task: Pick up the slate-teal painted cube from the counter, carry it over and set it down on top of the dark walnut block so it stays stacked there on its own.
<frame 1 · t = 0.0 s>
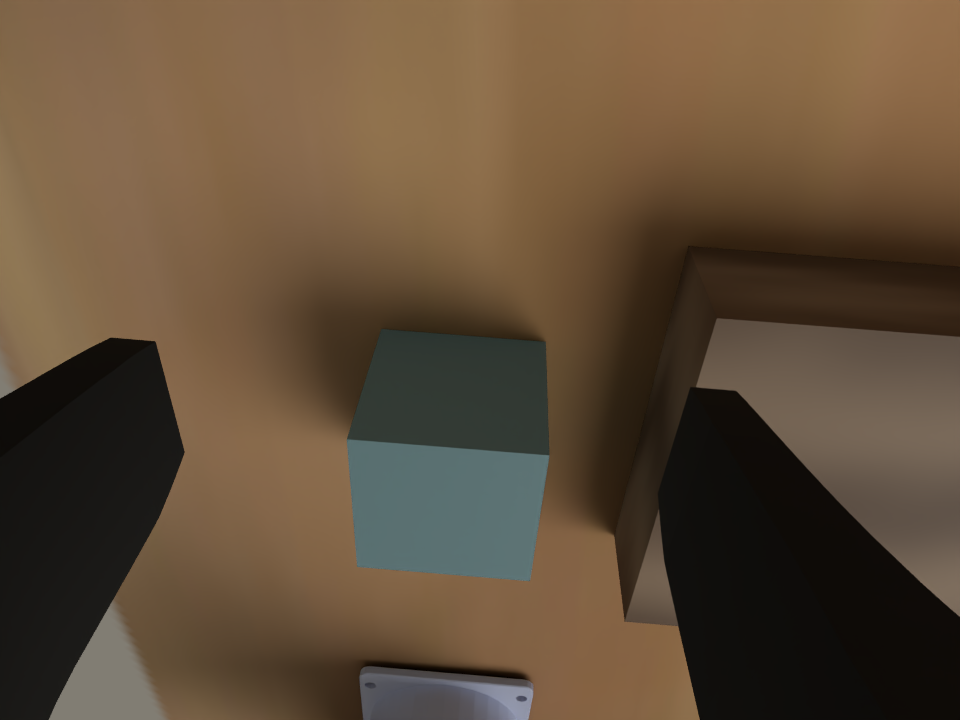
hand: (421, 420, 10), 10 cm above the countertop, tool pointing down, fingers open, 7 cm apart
walnut block: (828, 420, 23), on the countertop
teal cube: (460, 397, 23), on the countertop
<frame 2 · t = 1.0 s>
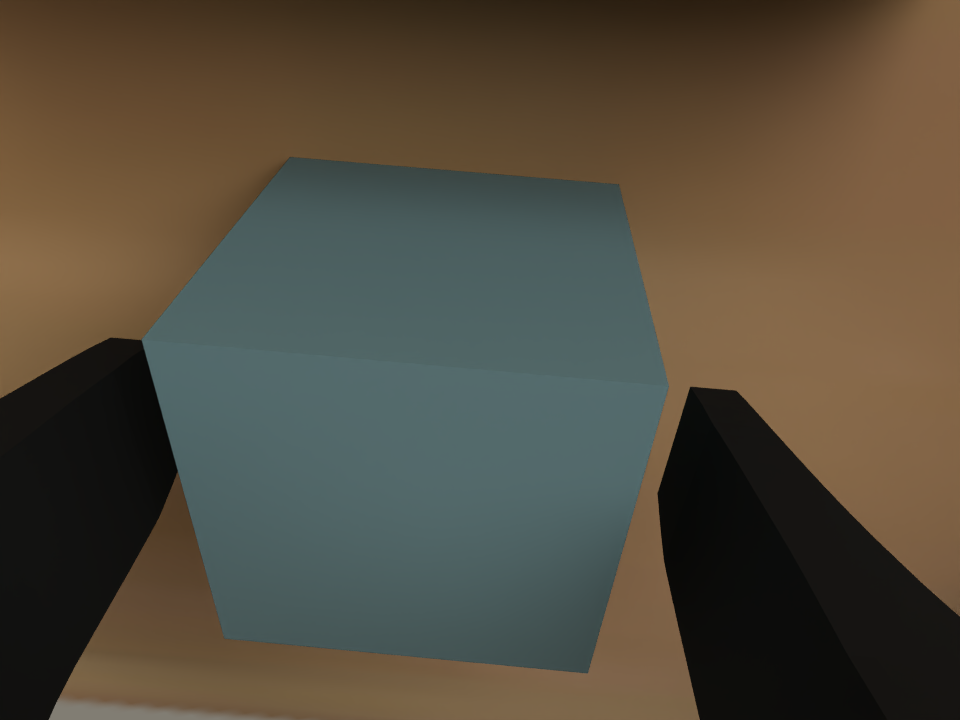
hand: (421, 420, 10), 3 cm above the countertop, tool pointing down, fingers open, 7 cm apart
teal cube: (448, 308, 12), on the countertop
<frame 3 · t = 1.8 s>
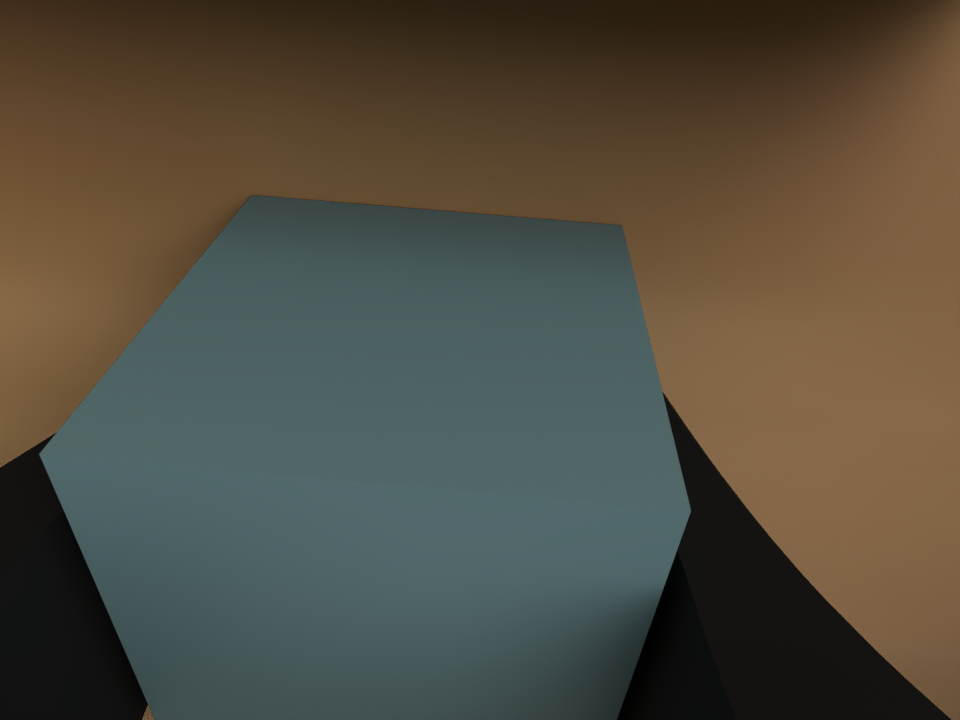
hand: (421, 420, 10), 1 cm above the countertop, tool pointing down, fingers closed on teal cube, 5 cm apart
teal cube: (432, 360, 11), on the countertop, touching gripper
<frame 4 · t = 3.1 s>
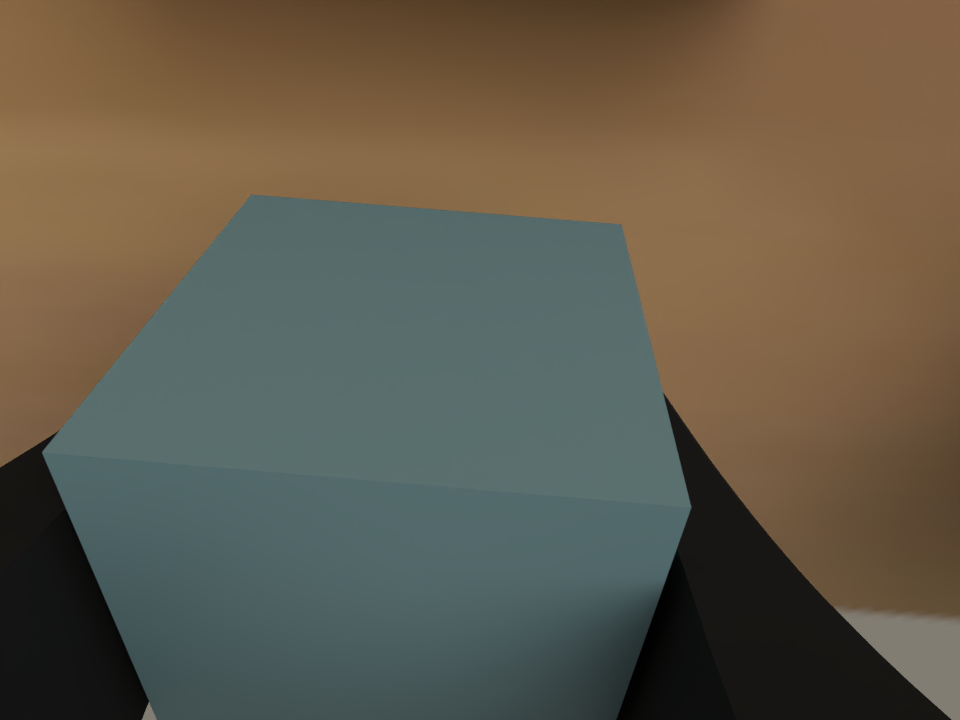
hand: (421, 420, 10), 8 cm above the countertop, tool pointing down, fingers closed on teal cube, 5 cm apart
teal cube: (432, 359, 11), point 7 cm above the countertop, touching gripper
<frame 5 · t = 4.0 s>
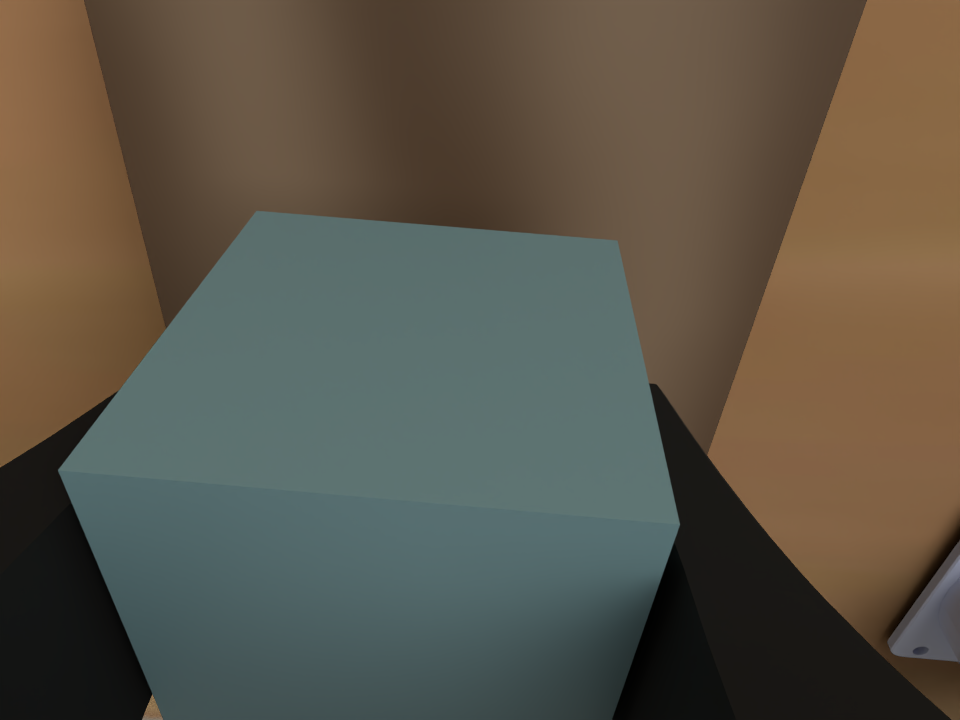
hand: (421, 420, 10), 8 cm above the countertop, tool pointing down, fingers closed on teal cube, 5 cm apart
walnut block: (467, 184, 17), on the countertop
teal cube: (432, 369, 11), point 7 cm above the countertop, touching gripper
when the fingers open (7 cm above the countertop, at t = 4.7 s): teal cube drops 2 cm, point 3 cm above the countertop.
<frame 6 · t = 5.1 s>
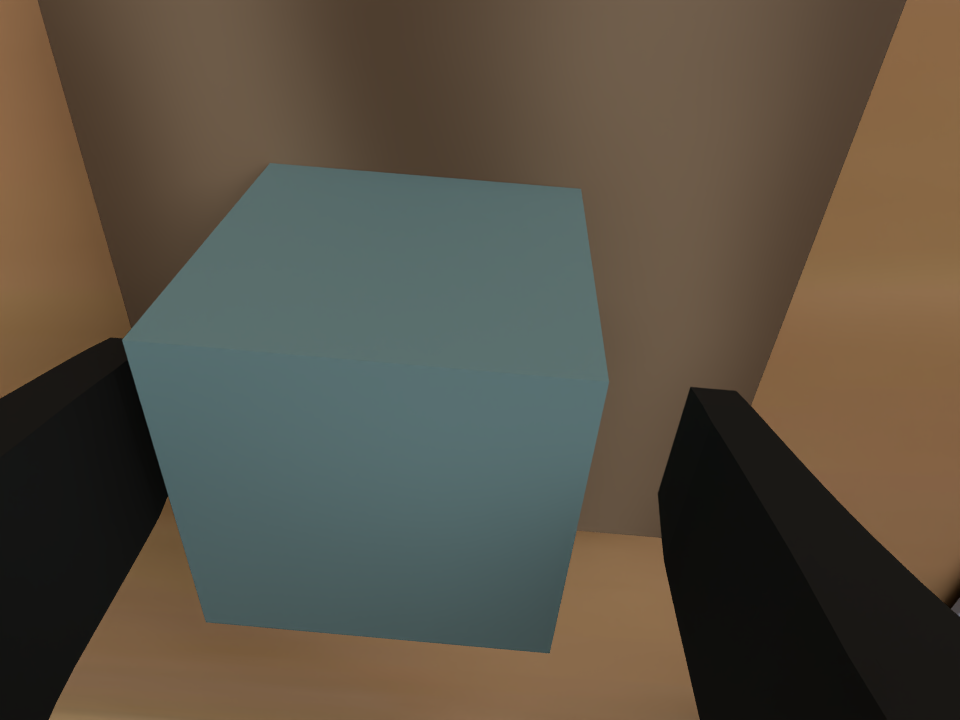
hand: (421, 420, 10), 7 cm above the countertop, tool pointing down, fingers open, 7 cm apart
walnut block: (463, 203, 16), on the countertop
teal cube: (423, 308, 13), point 3 cm above the countertop
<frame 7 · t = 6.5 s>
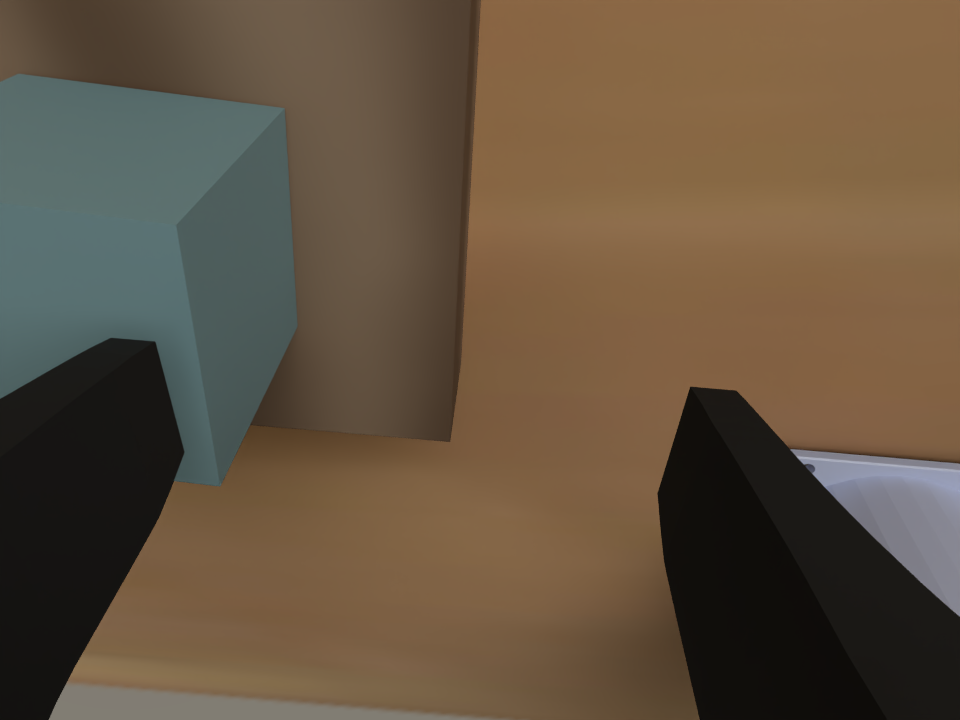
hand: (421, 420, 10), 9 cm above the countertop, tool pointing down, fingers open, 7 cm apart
walnut block: (238, 141, 18), on the countertop
teal cube: (172, 213, 15), point 3 cm above the countertop
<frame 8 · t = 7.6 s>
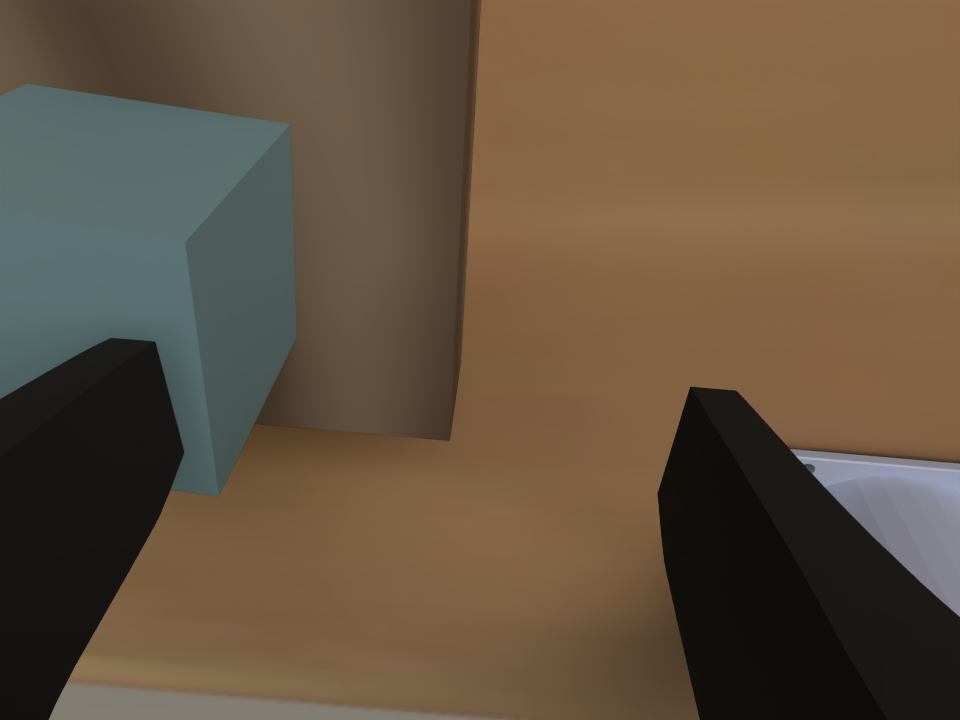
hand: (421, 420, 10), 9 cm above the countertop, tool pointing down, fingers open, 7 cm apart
walnut block: (238, 139, 18), on the countertop, touching teal cube
teal cube: (176, 223, 15), point 3 cm above the countertop, touching walnut block
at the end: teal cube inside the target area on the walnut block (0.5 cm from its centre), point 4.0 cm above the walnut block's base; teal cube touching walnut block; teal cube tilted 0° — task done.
